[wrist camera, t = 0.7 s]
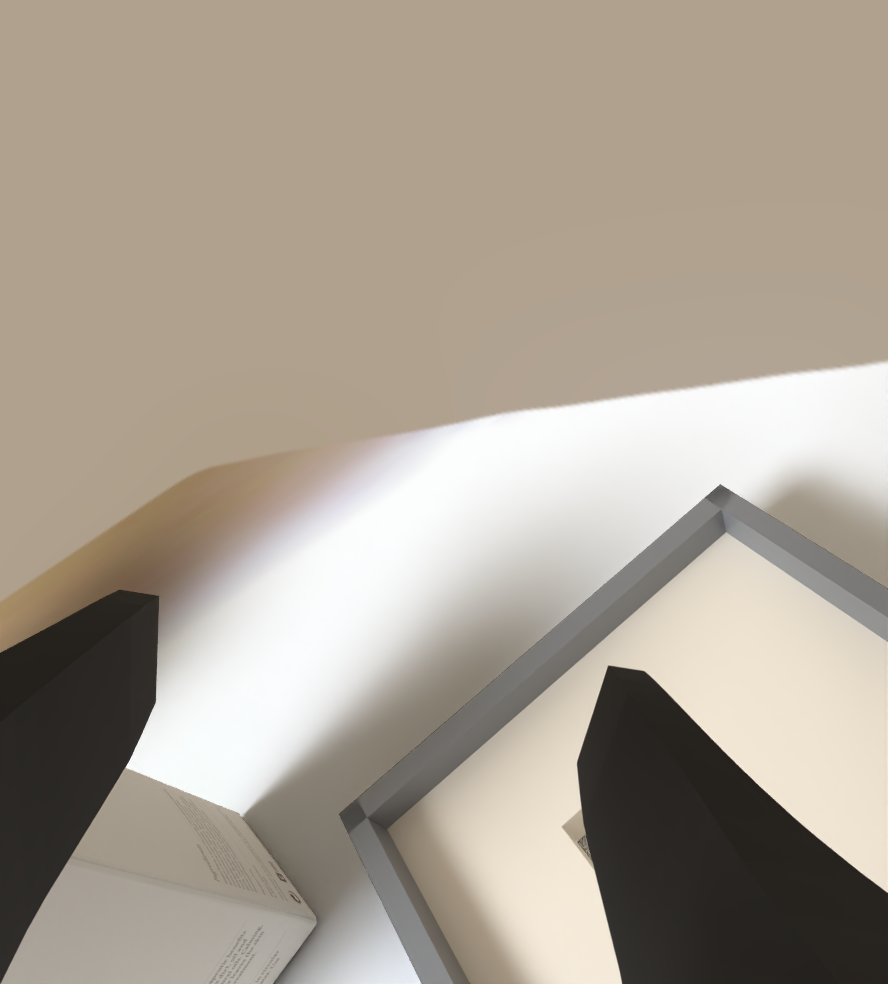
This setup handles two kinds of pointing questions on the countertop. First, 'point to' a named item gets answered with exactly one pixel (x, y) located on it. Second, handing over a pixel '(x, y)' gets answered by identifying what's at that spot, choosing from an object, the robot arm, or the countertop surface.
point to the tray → (565, 719)
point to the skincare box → (164, 899)
